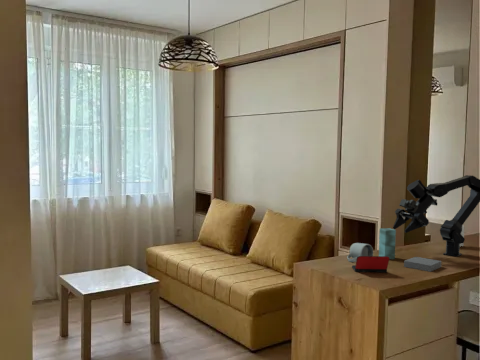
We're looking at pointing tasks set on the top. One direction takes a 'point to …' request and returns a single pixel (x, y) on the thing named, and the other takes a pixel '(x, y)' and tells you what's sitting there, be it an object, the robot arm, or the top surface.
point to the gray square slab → (422, 264)
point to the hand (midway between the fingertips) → (399, 230)
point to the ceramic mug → (359, 251)
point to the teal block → (387, 242)
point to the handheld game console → (371, 264)
